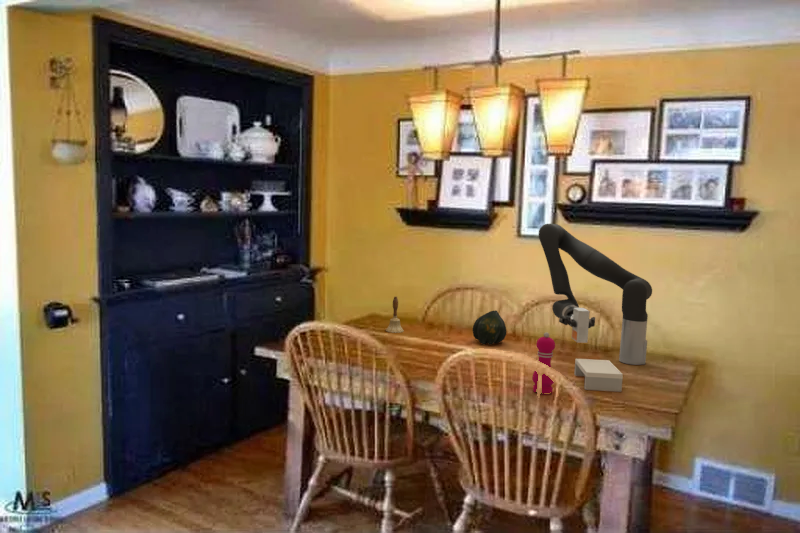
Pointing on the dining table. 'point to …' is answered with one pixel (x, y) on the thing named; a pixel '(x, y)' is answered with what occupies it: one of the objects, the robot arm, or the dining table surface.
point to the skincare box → (580, 325)
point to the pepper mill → (544, 361)
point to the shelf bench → (599, 374)
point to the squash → (489, 328)
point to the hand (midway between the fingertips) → (582, 325)
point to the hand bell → (395, 320)
